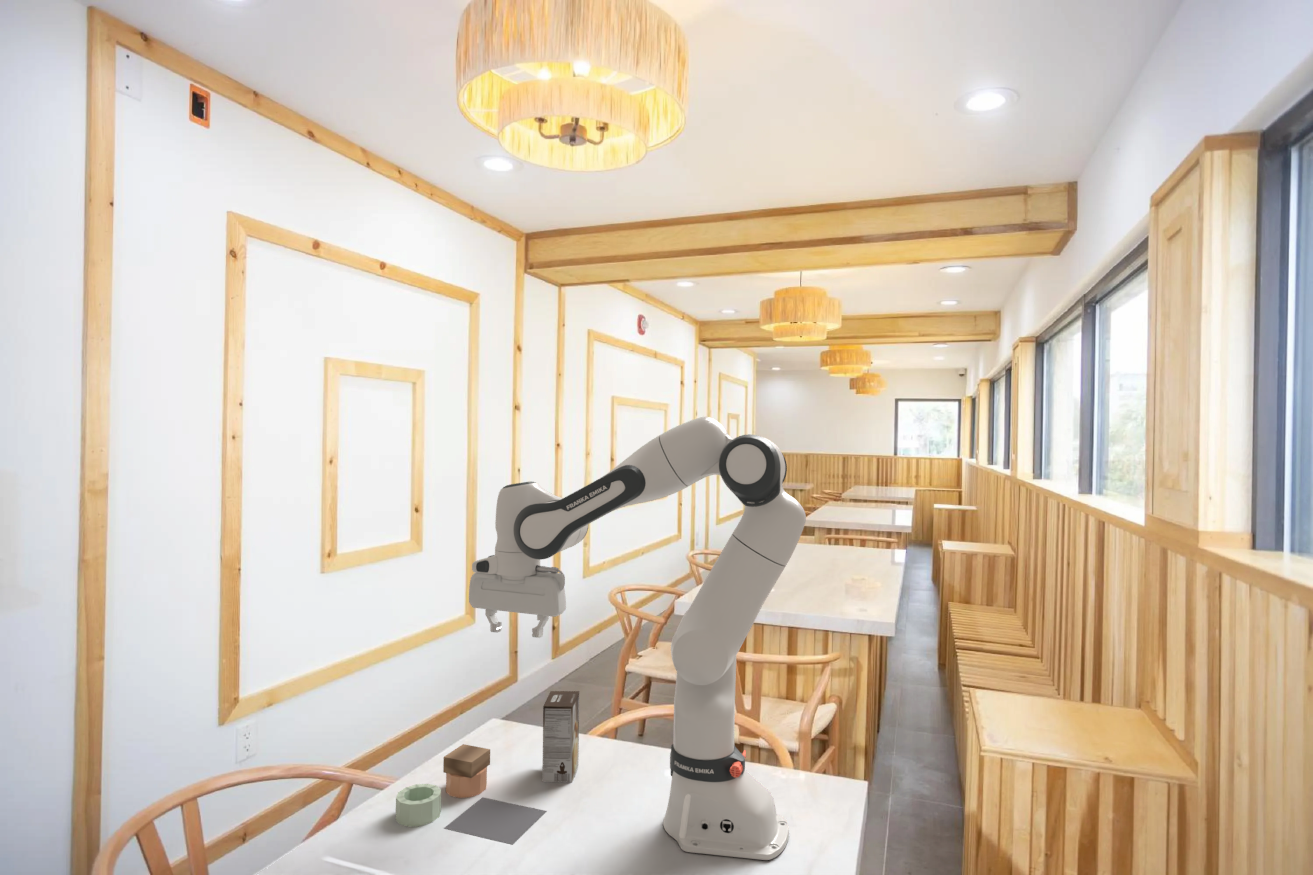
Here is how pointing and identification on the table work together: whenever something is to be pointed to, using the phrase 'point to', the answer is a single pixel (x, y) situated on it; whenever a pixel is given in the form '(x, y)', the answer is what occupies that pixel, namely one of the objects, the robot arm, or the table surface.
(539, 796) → the table surface
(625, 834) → the table surface
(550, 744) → the coffee box
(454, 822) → the mat
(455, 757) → the cardboard box
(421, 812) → the bowl sage
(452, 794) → the bowl terracotta
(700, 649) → the robot arm
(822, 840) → the table surface
